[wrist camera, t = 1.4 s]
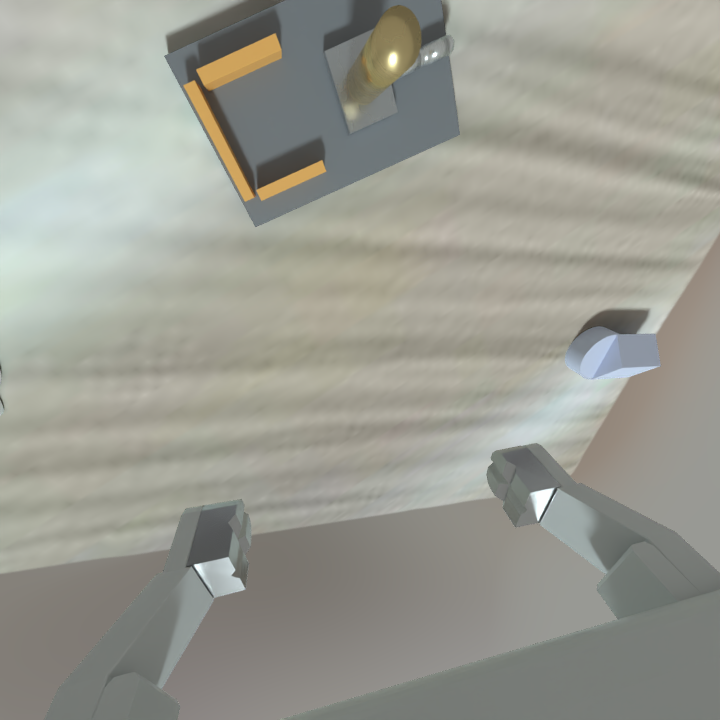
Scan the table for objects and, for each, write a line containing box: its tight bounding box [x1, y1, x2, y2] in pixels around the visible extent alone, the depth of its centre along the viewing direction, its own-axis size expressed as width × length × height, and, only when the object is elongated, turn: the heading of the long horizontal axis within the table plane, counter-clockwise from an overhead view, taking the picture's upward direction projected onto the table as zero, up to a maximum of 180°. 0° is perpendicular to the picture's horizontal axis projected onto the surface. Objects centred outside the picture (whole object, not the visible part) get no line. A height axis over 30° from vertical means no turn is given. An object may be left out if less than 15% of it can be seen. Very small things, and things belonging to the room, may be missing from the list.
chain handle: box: [323, 5, 454, 135], centre depth 23 cm, size 12×6×11 cm, turn 111°
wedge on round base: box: [565, 326, 661, 379], centre depth 53 cm, size 9×7×13 cm
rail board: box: [164, 0, 460, 227], centre depth 28 cm, size 24×14×4 cm, turn 111°
